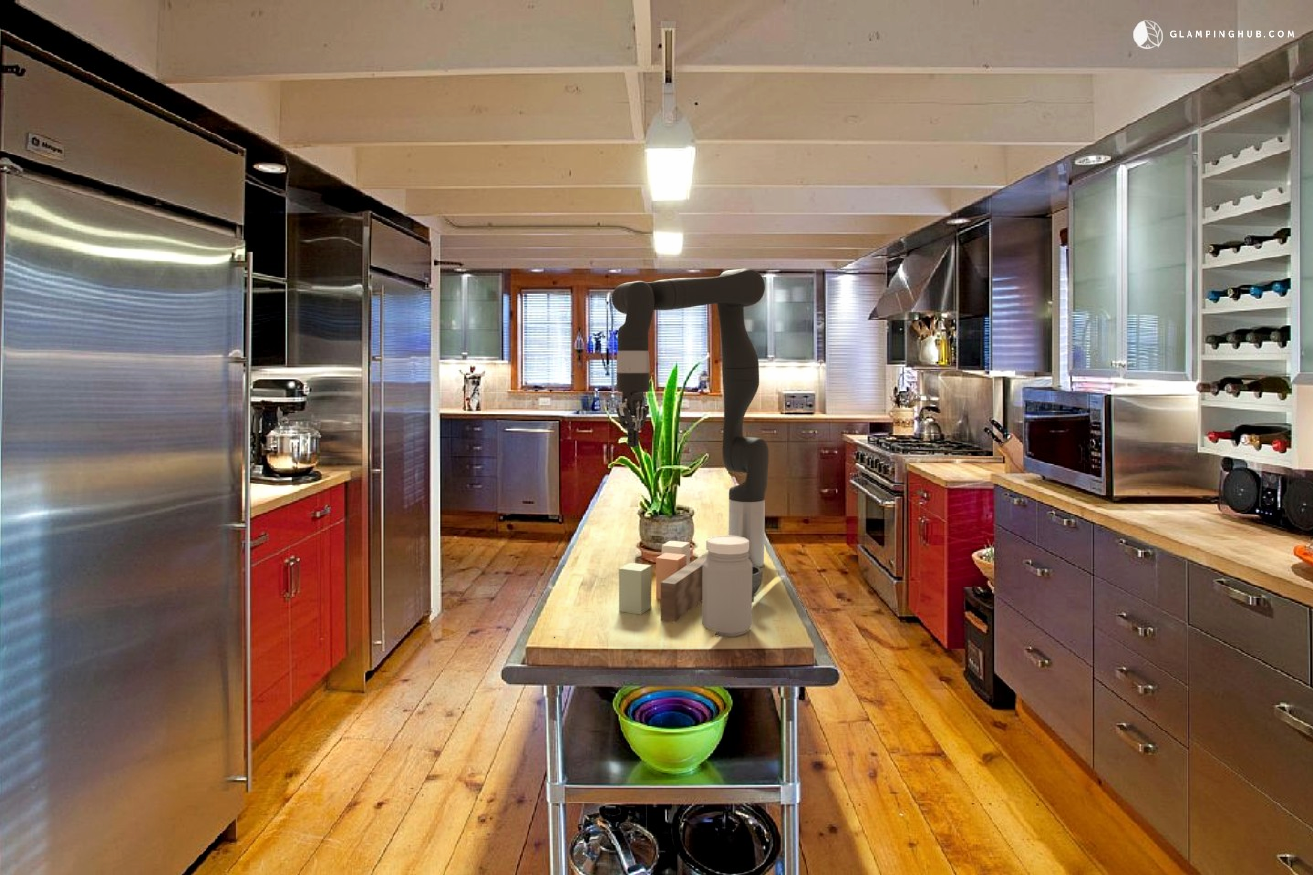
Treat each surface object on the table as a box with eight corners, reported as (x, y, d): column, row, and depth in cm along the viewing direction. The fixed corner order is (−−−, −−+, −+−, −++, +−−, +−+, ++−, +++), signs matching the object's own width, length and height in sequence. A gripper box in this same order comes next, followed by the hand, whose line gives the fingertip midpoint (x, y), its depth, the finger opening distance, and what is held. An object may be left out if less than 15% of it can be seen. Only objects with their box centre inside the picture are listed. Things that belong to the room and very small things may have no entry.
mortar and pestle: (716, 593, 175) (717, 541, 174) (757, 593, 175) (758, 541, 174) (721, 609, 164) (721, 554, 163) (765, 609, 164) (766, 554, 163)
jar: (747, 621, 156) (748, 534, 155) (755, 638, 147) (756, 545, 145) (699, 621, 156) (700, 534, 154) (704, 638, 146) (705, 545, 145)
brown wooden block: (655, 579, 186) (655, 542, 185) (723, 587, 179) (724, 550, 178) (596, 616, 159) (596, 574, 158) (674, 628, 152) (674, 583, 151)
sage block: (629, 604, 163) (629, 562, 162) (651, 607, 161) (651, 565, 160) (619, 611, 158) (618, 568, 158) (641, 614, 156) (641, 571, 156)
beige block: (670, 577, 183) (670, 540, 182) (689, 580, 181) (689, 542, 180) (661, 583, 178) (661, 545, 178) (681, 585, 176) (681, 547, 176)
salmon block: (665, 592, 172) (665, 552, 171) (686, 594, 170) (686, 554, 169) (656, 598, 167) (656, 557, 166) (677, 601, 165) (677, 560, 164)
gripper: (635, 371, 167) (635, 450, 169) (659, 370, 179) (659, 444, 181) (604, 371, 170) (605, 449, 172) (630, 370, 182) (631, 443, 184)
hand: (633, 446), depth 177 cm, fingers closed
